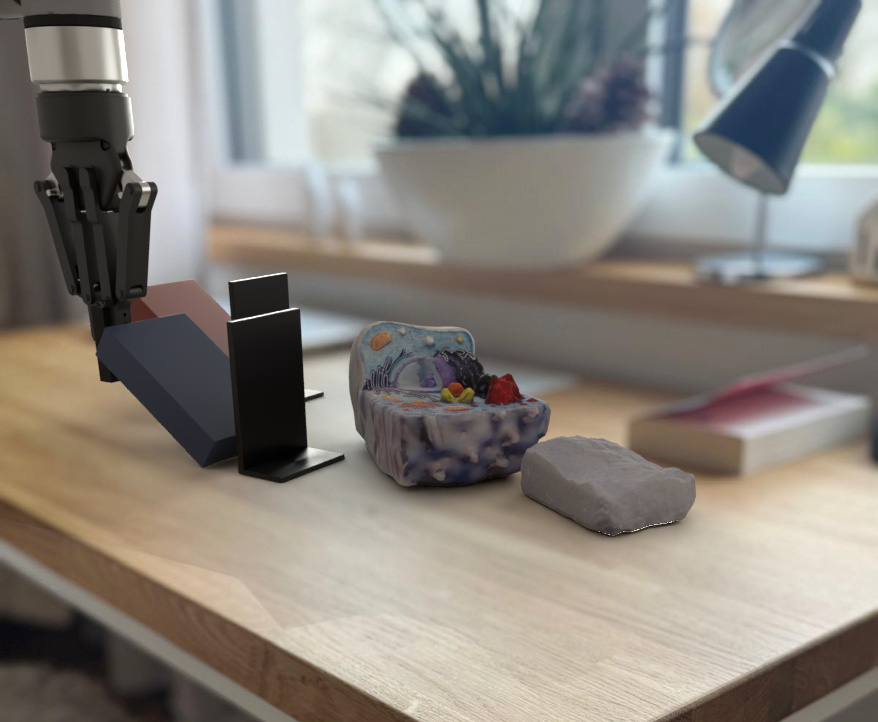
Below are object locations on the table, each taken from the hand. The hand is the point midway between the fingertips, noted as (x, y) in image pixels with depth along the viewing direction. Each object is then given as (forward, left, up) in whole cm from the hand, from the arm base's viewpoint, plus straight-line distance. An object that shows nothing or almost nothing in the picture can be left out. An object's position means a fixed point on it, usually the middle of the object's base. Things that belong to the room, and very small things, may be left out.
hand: (117, 379), depth 97 cm
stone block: (+46, +5, -5) cm, 47 cm away
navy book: (+9, 0, -1) cm, 9 cm away
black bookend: (+4, +17, -5) cm, 18 cm away
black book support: (+20, 0, -5) cm, 21 cm away
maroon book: (-7, +17, -1) cm, 19 cm away
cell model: (+29, +7, -5) cm, 30 cm away
